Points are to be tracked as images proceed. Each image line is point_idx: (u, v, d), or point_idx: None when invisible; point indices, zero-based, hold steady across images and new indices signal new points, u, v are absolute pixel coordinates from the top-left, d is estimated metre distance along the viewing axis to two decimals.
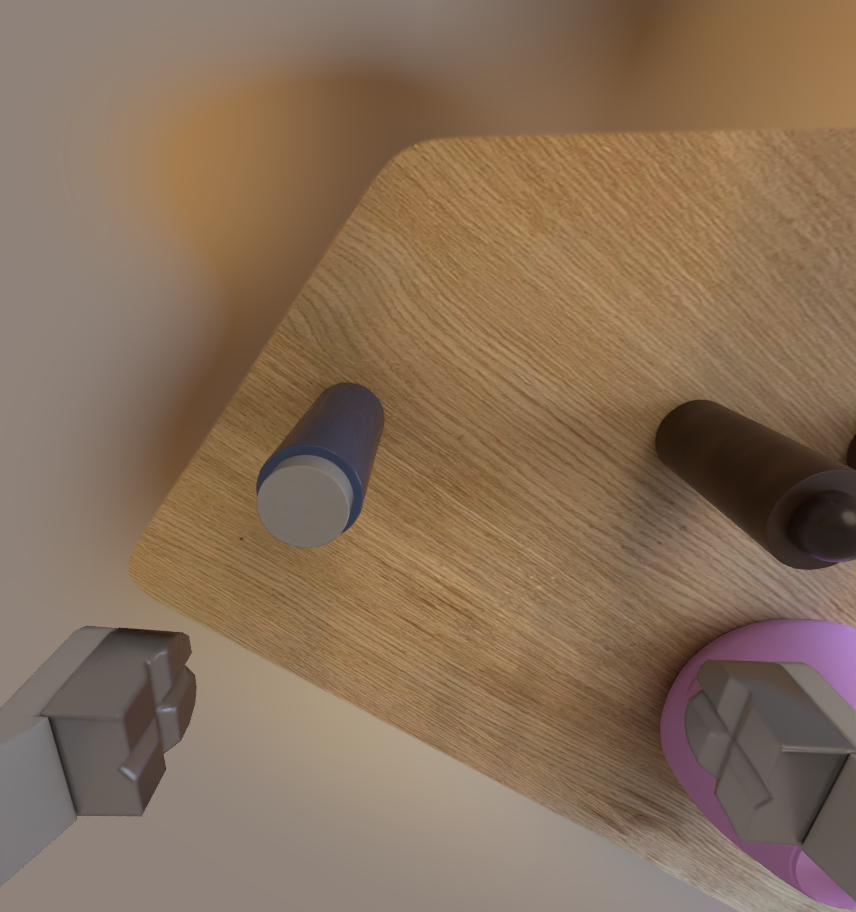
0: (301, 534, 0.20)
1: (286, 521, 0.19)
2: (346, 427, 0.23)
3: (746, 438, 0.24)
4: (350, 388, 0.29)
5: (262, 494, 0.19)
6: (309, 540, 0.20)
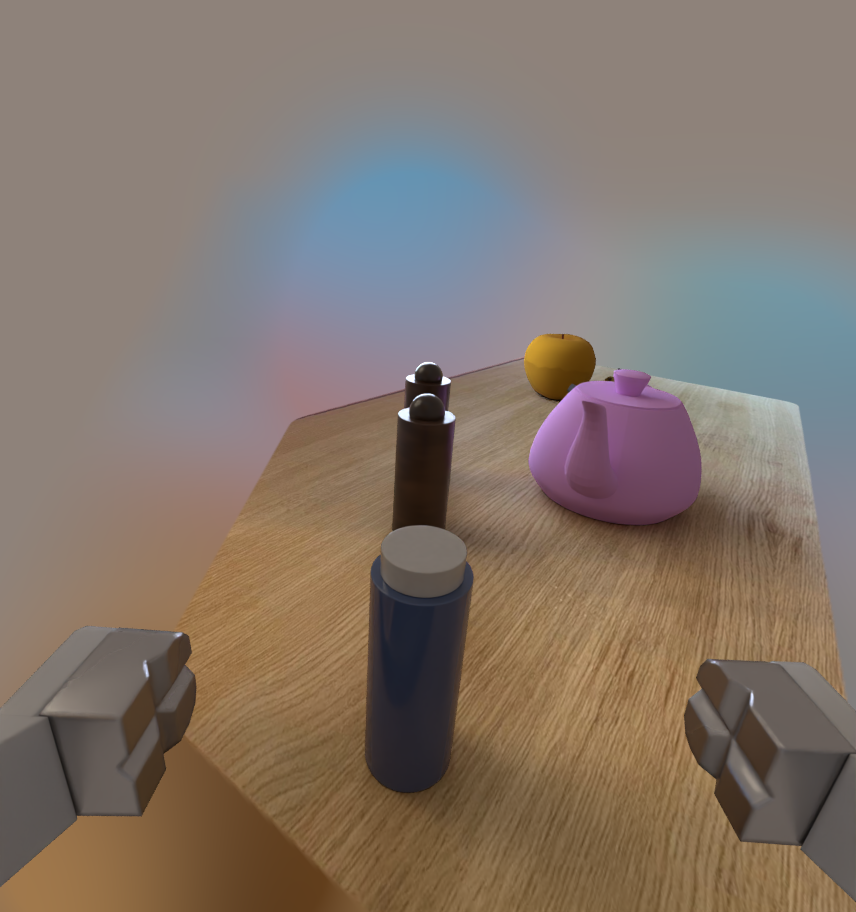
0: (452, 550, 0.21)
1: (439, 556, 0.20)
2: None
3: (398, 469, 0.42)
4: None
5: (410, 568, 0.19)
6: (458, 546, 0.21)
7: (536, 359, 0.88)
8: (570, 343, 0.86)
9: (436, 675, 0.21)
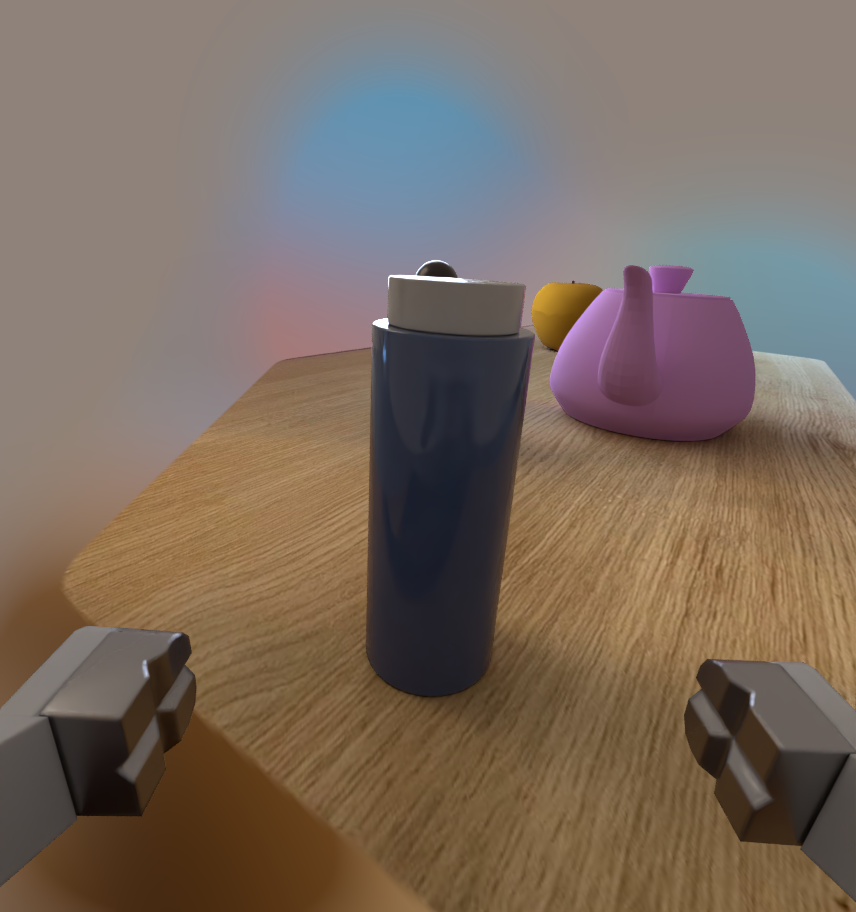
0: None
1: (482, 282, 0.12)
2: None
3: None
4: None
5: (439, 281, 0.12)
6: None
7: (545, 307, 0.81)
8: (582, 287, 0.79)
9: (479, 484, 0.13)
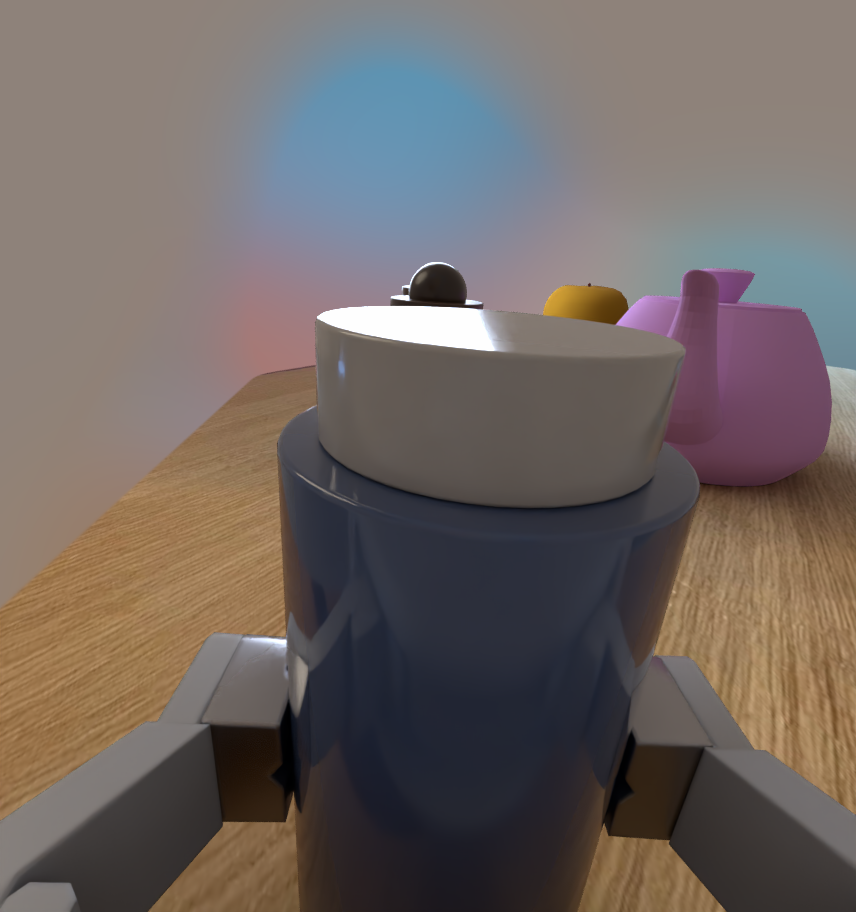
0: (611, 332, 0.05)
1: (571, 336, 0.04)
2: None
3: None
4: None
5: (453, 346, 0.04)
6: (624, 331, 0.05)
7: (558, 313, 0.73)
8: (600, 290, 0.71)
9: (551, 853, 0.05)
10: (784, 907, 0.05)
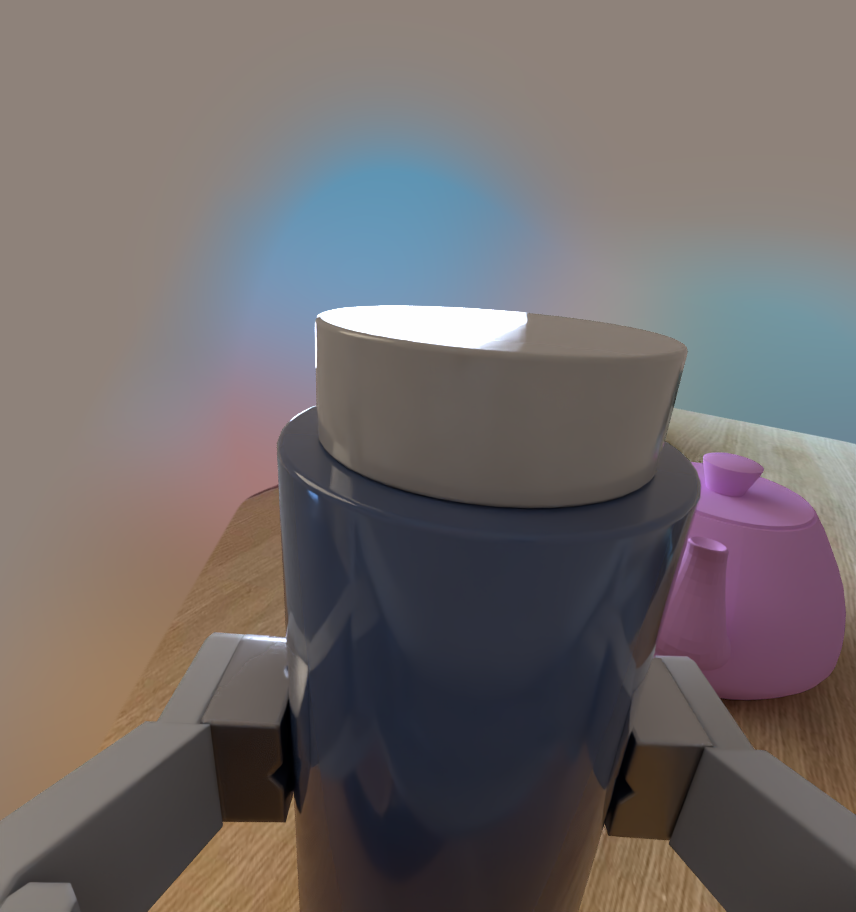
0: (610, 332, 0.05)
1: (572, 335, 0.04)
2: None
3: None
4: None
5: (453, 345, 0.04)
6: (624, 330, 0.05)
7: None
8: None
9: (552, 854, 0.05)
10: (785, 907, 0.05)
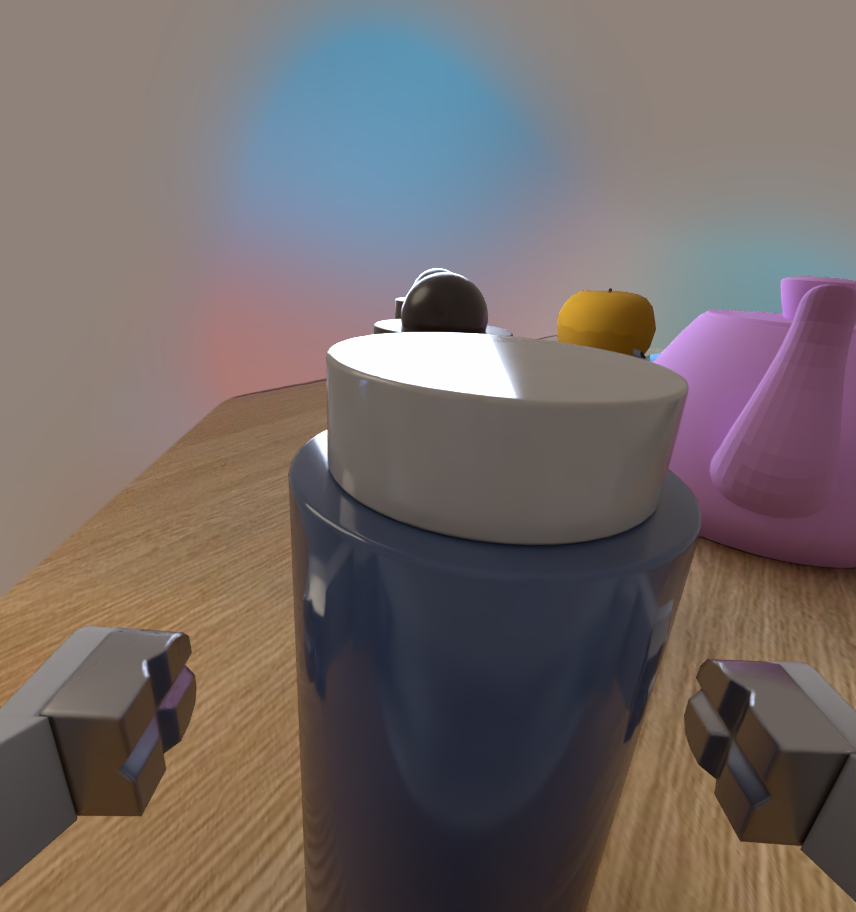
0: (613, 365, 0.05)
1: (576, 372, 0.05)
2: None
3: None
4: None
5: (463, 390, 0.04)
6: (627, 362, 0.05)
7: (576, 322, 0.64)
8: (624, 297, 0.62)
9: (557, 873, 0.05)
10: None
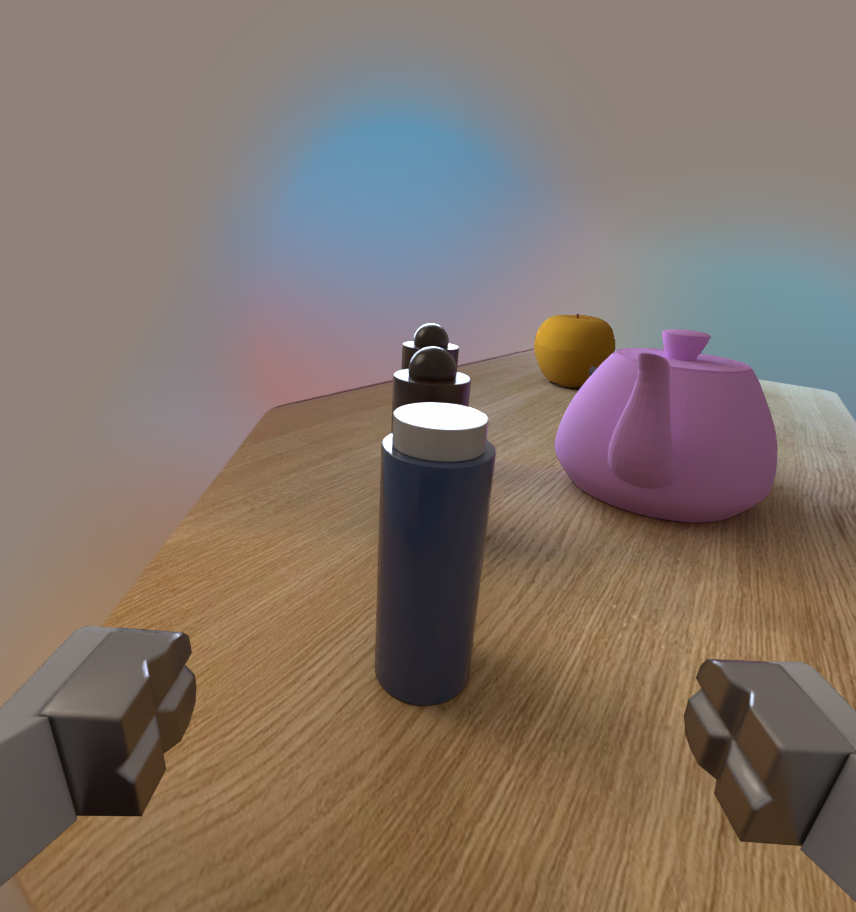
0: (471, 417, 0.19)
1: (458, 420, 0.18)
2: None
3: None
4: None
5: (427, 427, 0.17)
6: (478, 415, 0.19)
7: (548, 342, 0.78)
8: (587, 322, 0.76)
9: (456, 558, 0.19)
10: None
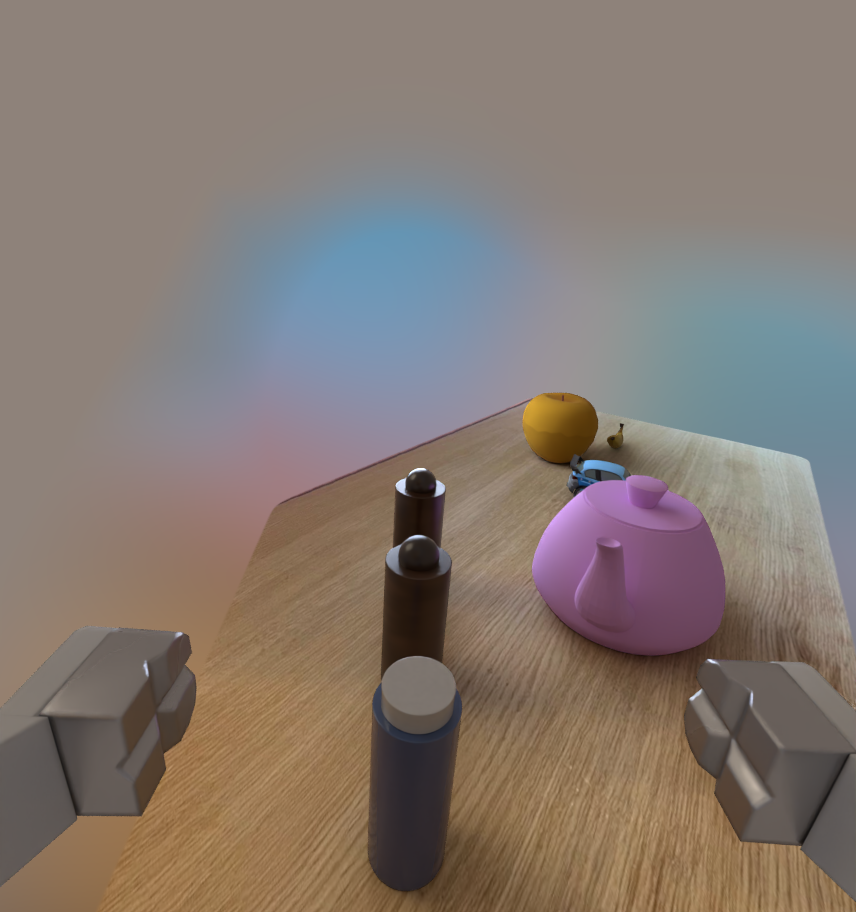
0: (443, 686, 0.24)
1: (431, 695, 0.23)
2: None
3: (386, 619, 0.36)
4: None
5: (407, 710, 0.22)
6: (448, 681, 0.24)
7: (535, 423, 0.83)
8: (571, 406, 0.81)
9: (430, 795, 0.24)
10: None
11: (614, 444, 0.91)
